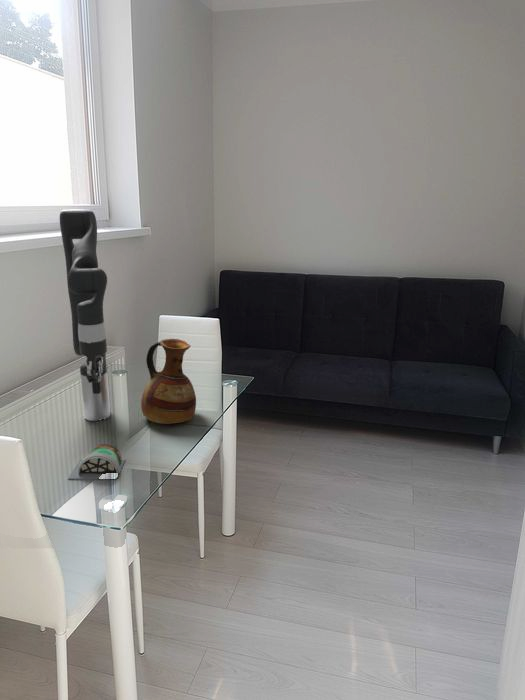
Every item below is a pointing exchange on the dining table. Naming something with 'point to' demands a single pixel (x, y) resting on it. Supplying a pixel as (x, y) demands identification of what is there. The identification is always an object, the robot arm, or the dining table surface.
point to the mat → (87, 476)
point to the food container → (102, 460)
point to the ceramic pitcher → (168, 386)
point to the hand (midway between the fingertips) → (97, 392)
